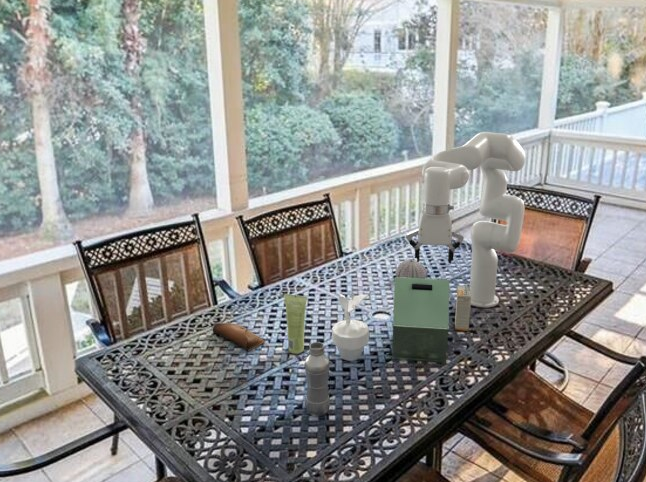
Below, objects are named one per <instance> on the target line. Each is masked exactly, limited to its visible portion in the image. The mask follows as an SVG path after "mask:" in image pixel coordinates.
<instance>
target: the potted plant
mask: <svg viewBox="0 0 646 482" xmlns="http://www.w3.org/2000/svg"><path fill="white" fill-rule="evenodd" d="M369 295H370V294H366V293H365V294H359V295H356V294H355V293H354V291H353V290H351V295H350V296H349V298H350V299H349V300H348V299H347V297H345V295H344V294H343V293H340V294H338V301H339V303H340V306H341V307H342V309H343V311H344V312H343V317H344V319H343V320H340V321H338V322H335V323H334V324H333V325H332V327H331V340H332V343H333V345H334V346H336V348H337V351H338V353H339V356H340V358H341V359H343V360H344V361H349V362H352V361H357V360H359V359H360V358H361V356H362V354H363V351H364V349H365V346H367V345H368V343H369V341H370V327H369V326H368V324H367V323H365V322H363V321H361V320H358V319H351V315H350V313H352V312H354V311H355V310H356V309H357V308H359V306H360V304H361V303H362V302H363V300H365V299H366V298H367V297H368V296H369Z"/></svg>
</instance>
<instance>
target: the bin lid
mask: <svg viewBox="0 0 646 482" xmlns="http://www.w3.org/2000/svg"><path fill="white" fill-rule="evenodd" d="M450 283H451V282H450V279H439V278H425V279H422V278H401V277H396V276H395V277H394V287H393V288H394V291H393V293H394V294H393V315H392V316H393V317H392V321H393V322H392V326H393V325H405V326H422V327H438V328H448V329H449V325H450V323H449V320H450V318H449V317H450V316H449V315H450Z"/></svg>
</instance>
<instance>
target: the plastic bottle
mask: <svg viewBox="0 0 646 482" xmlns="http://www.w3.org/2000/svg"><path fill="white" fill-rule="evenodd" d="M325 350H326V349H325V345H324V343H322V342H320V341H313V342H312V343H310V344H309V352H308V353H309V355H307V357H306V359H305V361H304V371H305V376H306V386H307V387H306V396H305V401H304V406H305V410H306V412H307V413H308V414H309V415H310V416H313V417H322V416H325V415H326V414H327V413H328V412H329V410H330V408H331V399H330V394H329V393H330V392H329V373H330V369H331V368H330V367H331V362H330V358H329V357H328V356H327V355H326V354H325Z"/></svg>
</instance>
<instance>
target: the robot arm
mask: <svg viewBox="0 0 646 482" xmlns="http://www.w3.org/2000/svg"><path fill="white" fill-rule="evenodd" d="M526 159H527V158H526V152H525V150H524V148H523V147H522V145H521V144H520V143H519V142H518V140H517V139H516V138H515V137H513V136H512V135H510V134H508V133H500V132H489V131H482V132H479V133H477V134H476V135H474V136H473V137H472V138H471V139H469V140H468V141H467V142H466V143H464V144H463V145H462V146H458V147H454V148H449V149H446V150H442V151H439V152H437V153H436V154H434V155H432V156H431V157H430V158H429V159H428V160H427V161H426V162H425V163H424V164H423V166H422V169H421V178H422V180H423V181H424V182H423V207H422V210H420V213H419V219H418V228H417V229H415V230H412V231H410V232H408V233H406V235H405V236H406V239H407V241H408V243H409V245H410V246H411V247H412V248H413V249H414V259H416V261H417V262H419V263H420V253H421V252H420V251H421V249H420V248H421V247H422V246H423V245H425V246H447V248H448V255H447V256H448V257H447V262H448V264H452V261H453V260H454V255H455V251H456V250H457V249H458V248H459V247H460V246H461V244H462V243H463V241H464V240H465V237H464V235H462V234H460V233H458V232H457V231H454V230H453V222H452V221H453V219H452V212H451V211H452V210H454V208H455V206H454V204H451V203H450V194H451V193H450V191H451V190H457V189H461V188H463V187H465V185H466V184H467V183H468V181H469V179H470V171H472V170H476V169H478V168H479V167H480V169H481V173H482V177H483V181H482V189H481V194H480V199H479V209H478V210H479V213H480V215H481V216H482V217H484V218H486V219H487V218H488V219H492V220H496V221H502V222H506V224H501V223H497V222H494V221H493V222H492V221H487V220H478V221H476V222H474V223H473V224H472V226H471V229H470V241H471V263H470V279H469V287H471V306H474V307H477V308H493V307H496V306H497V305H498V304H499V301H500V299H499V297H498V296H497V295H496V286H497V274H498V265H499V258H498V255H497V252H496V251H499V252H504V253H514V252H516V251H517V249H518V248H519V245H520V240H521V236H522V230H523V224H524V219H525V218H524V217H525V211H526V210H525V207H526V206H525V201H524V200H523V198H522V197H519V196H516V195H511V194H507V188H508V176H507V175H506V172H505V171H507V172H508V171H509V172H518V171H522V169H523V167H524V166H525V163H526ZM416 236H417V241H414V239H413V237H416ZM453 237H454V238H455V239H457V240H456V241H455V242H454V243H453V242H452V241H453Z"/></svg>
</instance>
